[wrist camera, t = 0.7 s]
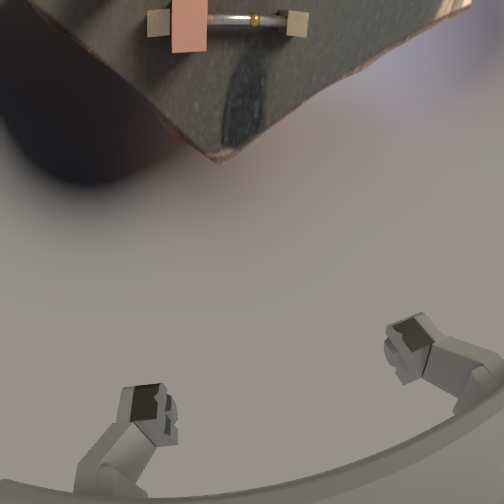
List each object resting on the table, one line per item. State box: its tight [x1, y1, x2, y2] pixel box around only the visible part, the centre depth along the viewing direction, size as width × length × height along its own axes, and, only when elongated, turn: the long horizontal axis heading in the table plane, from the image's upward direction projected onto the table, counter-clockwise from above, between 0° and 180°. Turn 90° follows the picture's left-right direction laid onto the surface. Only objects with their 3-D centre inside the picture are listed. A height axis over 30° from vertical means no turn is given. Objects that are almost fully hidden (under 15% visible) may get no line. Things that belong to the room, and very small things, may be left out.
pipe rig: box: [147, 9, 309, 37], centre depth 34 cm, size 22×4×5 cm, turn 87°
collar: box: [172, 0, 208, 53], centre depth 31 cm, size 4×8×10 cm, turn 177°
